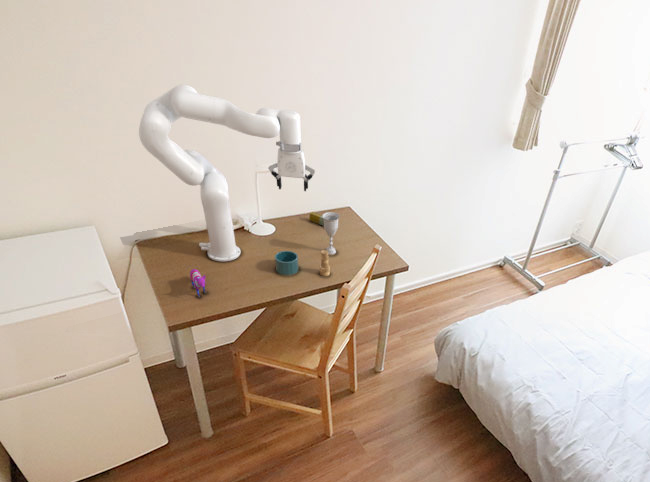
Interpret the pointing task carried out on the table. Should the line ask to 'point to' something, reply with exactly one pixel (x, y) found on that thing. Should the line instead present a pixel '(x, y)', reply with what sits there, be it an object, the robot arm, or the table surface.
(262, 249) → the table surface
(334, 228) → the chalice
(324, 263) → the pestle
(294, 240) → the table surface
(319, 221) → the medication box
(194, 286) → the toy dog
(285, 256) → the crock
